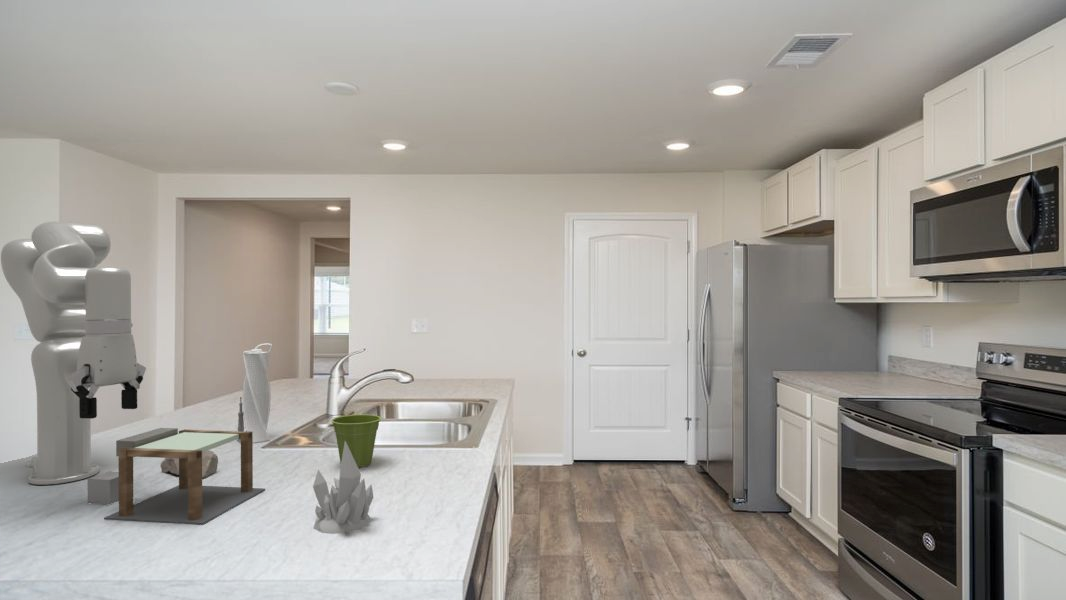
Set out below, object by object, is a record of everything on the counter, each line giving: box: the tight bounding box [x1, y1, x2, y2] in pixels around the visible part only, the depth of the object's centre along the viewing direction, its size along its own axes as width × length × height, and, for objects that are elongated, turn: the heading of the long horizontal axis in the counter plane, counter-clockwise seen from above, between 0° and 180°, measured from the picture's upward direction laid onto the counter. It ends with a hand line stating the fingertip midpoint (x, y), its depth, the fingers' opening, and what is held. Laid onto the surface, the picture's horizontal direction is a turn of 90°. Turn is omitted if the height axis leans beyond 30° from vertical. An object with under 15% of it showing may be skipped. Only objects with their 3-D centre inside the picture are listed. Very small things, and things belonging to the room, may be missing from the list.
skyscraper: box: [236, 342, 273, 444], centre depth 166 cm, size 8×8×28 cm
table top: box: [103, 484, 266, 526], centre depth 115 cm, size 20×19×1 cm
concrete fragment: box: [160, 450, 219, 479], centre depth 136 cm, size 7×14×6 cm, turn 64°
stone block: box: [86, 470, 119, 505], centre depth 118 cm, size 5×5×5 cm
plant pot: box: [330, 413, 382, 468], centre depth 142 cm, size 12×12×11 cm
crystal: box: [312, 441, 374, 535], centre depth 106 cm, size 10×13×15 cm
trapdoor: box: [115, 427, 239, 457], centre depth 116 cm, size 17×13×3 cm
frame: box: [117, 429, 254, 520], centre depth 115 cm, size 16×17×13 cm
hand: (109, 413), depth 117 cm, fingers open, 9 cm apart
